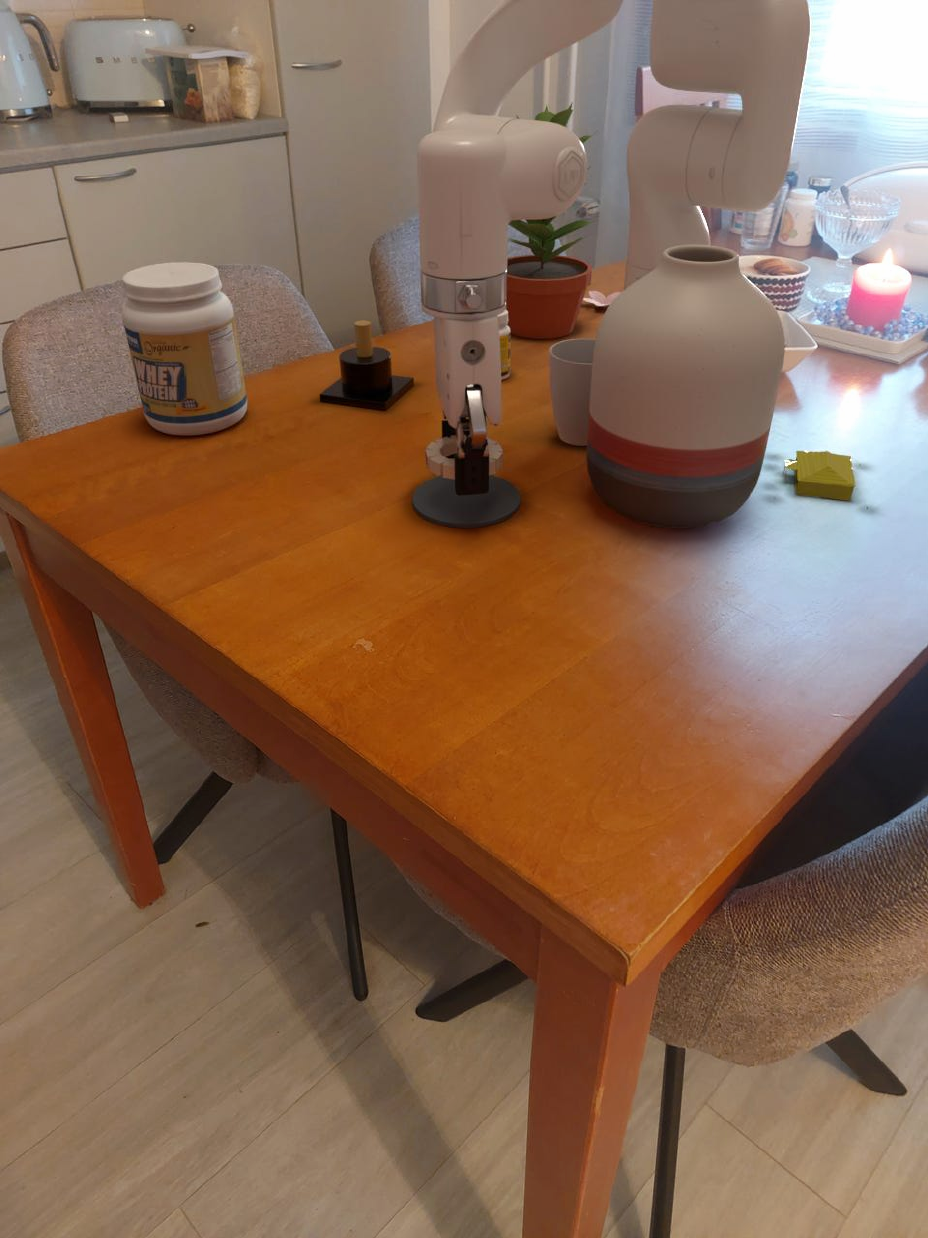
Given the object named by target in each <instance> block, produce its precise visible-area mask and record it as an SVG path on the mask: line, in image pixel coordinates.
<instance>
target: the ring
mask: <svg viewBox="0 0 928 1238" xmlns="http://www.w3.org/2000/svg"><path fill="white" fill-rule="evenodd" d="M466 437H467V436H466V435H464V443H465V440H466ZM468 437H470V435H469V436H468ZM488 448H489V476H490V475H494V474H496V473H497V472H499V471H500V469H501V468H502V467H503V462H504V461H503V460H504V450H503V448H502V446H501V444H500V443H499V442H498V441H495V440H493V439H491V438H489V437H488ZM457 453H458V451H457V439H456V435H453V436H450V438H449V437H444V438H442V437H441V438H438V439H435V440H434V441H431V442H430V443H429V444H428V445H427V447H425V464H426V467H427V470H429V472H431V473H433V474H434V475H436V476H437V477H438V476H443V478H447V479H454V480H455V459H448V458H446V456H449V455H452V454H457Z"/></svg>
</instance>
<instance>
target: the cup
mask: <svg viewBox="0 0 928 1238" xmlns="http://www.w3.org/2000/svg"><path fill="white" fill-rule="evenodd" d="M595 340H596V338H572V339H567V340H566V339H564V340H562V341H559V342H556V343H554V344H552V345H551V346H550V348H549V390H550V398H551V399H550V400H551V407H552V414H553V419H554V423H555V426H556V430H557V434H558V437H559V439H560V440H561V441H562V442H563V443H566V444H568V445H571V446H579V447H580V446H581V447H582V446H583V447H585V446H586V447H587V435H588V420H589V405H590V392H591V379H592V365H593V354H594V346H595Z"/></svg>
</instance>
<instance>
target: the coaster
mask: <svg viewBox="0 0 928 1238" xmlns="http://www.w3.org/2000/svg"><path fill="white" fill-rule="evenodd" d="M411 504H412V509H413V510H414V511H415V513H416V514H417V515H418V516H419V517H421V518H422V519H423V520H426V521H428V522H430V523H432V524H436V525H439V526H443V527H448V528H455V529H457V528H458V529H475V528H477V529H478V528H484V527H489V526H493V525H496V524H499V523H502V522H504V521H506V520H509V519H510V518H511V517H513V516H514V515H515V514H516V513H517V512H518V511H519V509H520V507H521V504H522V495H521V492H520V490H519V489H518V487H517V486H516V485H515V484H513V483H512V482H510V481H508V480H506V479H505V478H502V477H499V476H496V475H494V474H492V475H490V476H489V491H488V492H487V493H485V494H474V495H461V496H459V495H457V494H456V492H455V480H454V479H447V478H443V476H438V475H437V476H434V477H432V478H430V479H428V480H426V481H424V482H422V483H421V484H420V485H418V487H416V489H415V490H414V491H413V493H412V496H411Z"/></svg>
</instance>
